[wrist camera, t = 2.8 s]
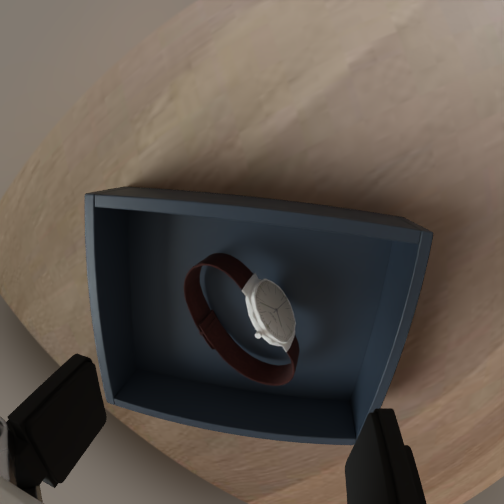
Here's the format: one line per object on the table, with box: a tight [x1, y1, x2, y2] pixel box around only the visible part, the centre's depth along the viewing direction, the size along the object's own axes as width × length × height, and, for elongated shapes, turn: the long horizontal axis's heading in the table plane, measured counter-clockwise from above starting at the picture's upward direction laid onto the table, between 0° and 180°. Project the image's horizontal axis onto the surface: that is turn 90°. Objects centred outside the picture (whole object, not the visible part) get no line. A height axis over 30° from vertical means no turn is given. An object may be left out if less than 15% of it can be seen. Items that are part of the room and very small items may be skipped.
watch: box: [183, 253, 300, 386], centre depth 16 cm, size 8×5×4 cm, turn 34°
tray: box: [85, 187, 433, 445], centre depth 16 cm, size 15×12×4 cm
